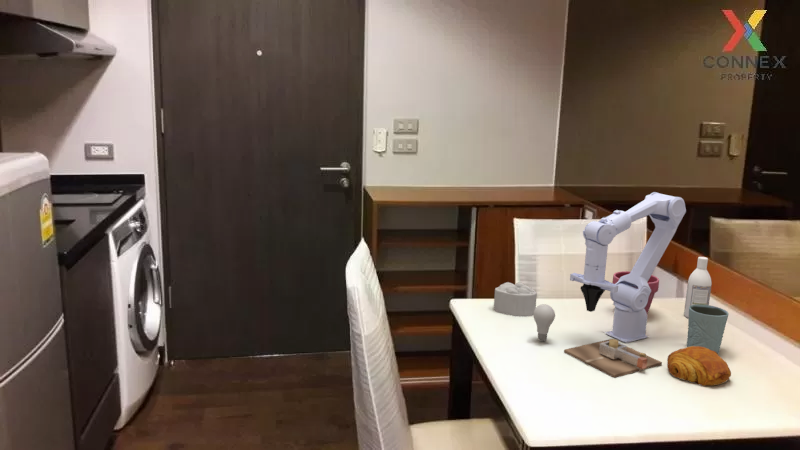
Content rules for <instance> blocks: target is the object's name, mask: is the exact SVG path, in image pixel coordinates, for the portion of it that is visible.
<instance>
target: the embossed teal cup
mask: <svg viewBox="0 0 800 450" xmlns="http://www.w3.org/2000/svg"><path fill="white" fill-rule="evenodd" d="M729 315H730V314H729V312H728V311H727V310H726V309H724V308H721V307H718V306H714V305H710V304H709V305H701V304H696V305H691V306H689V318H687V319H688V322H687V323H688V325H687V327H688V328H687V337H686V338H687V339H686V347H690V346H700V347H705V348H707V349H710V350H712V351H715V352H716V353H717V354H718V355H719V354H720V352H721V351H720V350H721V345H722V342H723V337H724V333H725V329H726V325H727V322H728V319H729V318H728V317H729Z"/></svg>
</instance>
